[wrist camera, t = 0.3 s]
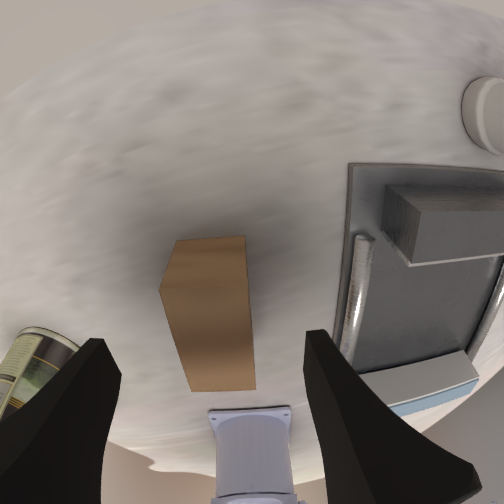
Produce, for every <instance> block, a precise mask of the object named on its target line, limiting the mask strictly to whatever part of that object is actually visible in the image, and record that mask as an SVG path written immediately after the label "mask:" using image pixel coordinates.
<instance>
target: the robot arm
mask: <svg viewBox="0 0 504 504" xmlns="http://www.w3.org/2000/svg"><path fill="white" fill-rule="evenodd" d="M303 372H304V379H305V386H306V393H307V398H308V402H309V405H310V409H311V413H312V417H313V421H314V424H315V428H316V432H317V436H318V440H319V444H320V448H321V452H322V457H323V464H324V472H325V478H326V488H327V496H328V504H460V503H462V502H464V501H465V500H467V499H469V498H470V497H472V496H473V495H475V494H477V493H478V492H479V491H481V489H482V485H481V482H480V479H479V476H478V474H477V472H476V470H475V468H474V466H473V465H472V464H471V463H469V462H467V461H465V460H463V459H461V458H459V457H457V456H455V455H453V454H451V453H450V452H448V451H446V450H444V449H443V448H441V447H440V446H438V445H436V444H435V443H433V442H432V441H430V440H429V439H427V438H426V437H425V436H423V435H422V434H421V433H419V432H418V431H417V430H415V429H414V428H412V427H411V426H410V425H409V424H407V423H406V422H405V421H404V420H403V419H401V418H400V417H399V416H398V415H397V414H396V413H394V412H393V411H392V410H391V409H390V408H389V407H388V406H387V405H386V404H385V403H384V402H383V401H382V400H381V399H380V398H379V397H378V396H377V395H376V394H375V393H374V392H373V391H372V390H371V389H370V388H369V386H368V385H367V384H366V383H365V382H364V381H363V380H362V378H361V377H360V376H359V375H358V374H357V372H356V371H355V370H354V369H353V367H352V366H351V365H350V364H349V362H348V361H347V360H346V359H345V357H344V356H343V354H342V353H341V352H340V350H339V349H338V348H337V346H336V345H335V343H334V342H333V340H332V339H331V337H330V336H329V334H328V333H327V331H326V330H324V329H321V330H312V331H306V340H305V353H304V365H303ZM121 376H122V374H121V372H120V370H119V368H118V367H117V365H116V363H115V361H114V359H113V357H112V355H111V353H110V351H109V349H108V347H107V345H106V343H105V341H104V339H99V338H90V339H89V340H88V341H86V342H85V343H84V344H83V345H82V346H81V347H80V349H79V350H78V351H77V352H76V353H75V354H74V355H73V356H72V357H71V358H70V359H69V360H68V361H67V362H66V363H65V365H64V366H63V367H62V368H61V369H60V370H59V371H58V372H57V373H56V374H55V375H54V376H53V377H52V378H51V379H50V380H49V381H48V382H47V383H46V384H45V385H44V386H43V387H42V388H41V389H40V390H39V391H38V392H37V393H36V394H35V395H34V396H33V397H32V398H31V399H30V400H29V401H28V402H26V403H25V404H24V405H23V406H22V407H21V408H19V409H18V410H17V411H16V412H14V413H13V414H12V415H10V416H9V417H7V418H6V419H5V420H3V421H2V422H0V504H101V474H102V464H103V455H104V450H105V445H106V441H107V437H108V434H109V430H110V426H111V422H112V419H113V415H114V412H115V408H116V404H117V401H118V396H119V390H120V383H121ZM208 417H209V420H210V423H211V425H212V428H213V431H214V433H215V436H216V438H217V456H216V498H211V504H308V503H306V502H305V501H304V500H302V501H298V503H297V494H294V486H293V477H292V469H291V461H290V452H289V437H290V425H291V408H290V407H279V408H267V409H252V410H232V411H210V412H209V413H208ZM489 504H497V503H496V501H492V502H491V503H489Z"/></svg>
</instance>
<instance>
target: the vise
mask: <svg viewBox="0 0 504 504" xmlns="http://www.w3.org/2000/svg"><path fill="white" fill-rule="evenodd" d="M503 298H504V172H501V171H492V170H483V169H473V168H461V167H448V166H432V165H411V164H373V163H349V171H348V195H347V212H346V226H345V239H344V251H343V261H342V271H341V280H340V289H339V297H338V305H337V313H336V320H335V327H334V334H333V342H334V343H335V345H336V346H337V348H338V349H339V350H340V352H341V353H342V354H343V356H344V357H345V359H346V360H347V361H348V362H349V364H350V365H351V366H352V367H353V369H354V370H355V371H356V372H357V374H358V375H361V374H367V373H372V372H377V371H382V370H387V369H392V368H396V367H401V366H405V365H409V364H413V363H418V362H422V361H425V360H429V359H433V358H437V357H440V356H444V355H448V354H451V353H454V352H458V351H461V350H464V352H465V353H466V355H467V356H468V358H469V360H470V361H471V363H472V361H473V359H474V357H475V356H476V354H477V352H478V350H479V348H480V346H481V345H482V343H483V341H484V339H485V337H486V335H487V333H488V331H489V329H490V327H491V325H492V323H493V321H494V318H495V316H496V314H497V312H498V310H499V307H500V305H501V303H502V300H503Z"/></svg>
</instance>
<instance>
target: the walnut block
mask: <svg viewBox="0 0 504 504" xmlns="http://www.w3.org/2000/svg"><path fill="white" fill-rule="evenodd" d="M159 292H160V295H161V299H162V303H163V306H164V309H165V313H166V316H167V320H168V323H169V326H170V329H171V333H172V336H173V339H174V342H175V345H176V348H177V351H178V354H179V357H180V360H181V363H182V366H183V369H184V372H185V375H186V378H187V381H188V383H189V386H190V389H191V392H215V391H242V390H256V383H255V365H254V348H253V332H252V320H251V308H250V296H249V284H248V271H247V259H246V247H245V236H232V237H218V238H205V239H192V240H179V241H177V242H176V244H175V247H174V249H173V252H172V255H171V258H170V260H169V263H168V266H167V269H166V271H165V274H164V277H163V280H162V283H161V285H160V288H159Z"/></svg>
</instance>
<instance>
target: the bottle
mask: <svg viewBox="0 0 504 504" xmlns="http://www.w3.org/2000/svg"><path fill="white" fill-rule="evenodd" d="M462 118H463V122H464V125H465V128H466V131H467V133H468V134H469V136H470V137H471V138H472V140H473V141H474V142H475V143H476V144H477V145H478V146H480V147H482V148H483V149H485V150H487V151H488V152H490V153H492V154H494V155H496V156H504V79H501V78H496V77H482V78H479V79H477V80H475V81H474V82H472V83H470V85H469V86H468V88H467V89H466V91H465V92H464V97H463V101H462Z"/></svg>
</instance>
